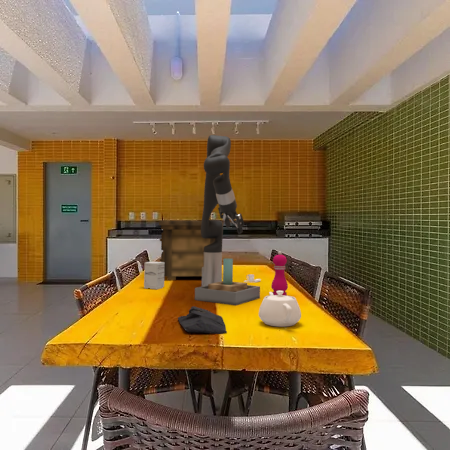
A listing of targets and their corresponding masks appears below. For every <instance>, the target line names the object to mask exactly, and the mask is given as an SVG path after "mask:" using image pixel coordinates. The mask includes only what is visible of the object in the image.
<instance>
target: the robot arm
mask: <svg viewBox="0 0 450 450" xmlns="http://www.w3.org/2000/svg"><path fill="white" fill-rule="evenodd" d="M206 143H207V144H206V158H205V160H204V162H203V170H204V172H205V178H204V179H205V180H204V191H203V192H204V193H203V209H202V215H201V217H202V218H201V221H202V223H201V236H202V238H206V239H215V241H214V242H213V243H212V244H210V245H207V246H205V247H204V267H202V276H201V287H202V286H207V285H208V284H211V283H216V282H221V281H223V236H224V235H223V234H224V224H225V228H228V229H229V228H230V227H231V225H232V224H233V225H234V226H235V227H236V230H237V234H238V235H241V234H242V233H243V232H244V231H243V227H245V222H244V218H243V215H242V213H239V214H238V212H237V210H236V209H237V208H238V204H237V201H236V197H235V193H234V190H233V188H232V184H231V178H230V167H231V164H230V163H231V162H230V159H229V158H228V156H229V155H230V154H231V153H230V152H231V149H232V148H231V147H232V141H231V138H230V137H229V136H227V135H217V134H210V135H208V137H207V141H206ZM217 205H218V207H217ZM216 207H217V210H218V214H219V217H220V219H222V220H223V222H224V223H223V224H222V221H221V220H219V219H218V220H217V219H210V217H211V215H212V213H213V211H214V209H215V208H216ZM231 223H232V224H231Z"/></svg>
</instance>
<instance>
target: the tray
mask: <svg viewBox="0 0 450 450" xmlns="http://www.w3.org/2000/svg"><path fill="white" fill-rule="evenodd" d="M260 298H261V286H259V285H249V284H247V289H245V290H241V291H237V292H230V291H221V290H212V289H208V285H207V286H202V285H201V286H198V287H195V288H194V301H198V302H199V301H200V302H207V303H215V304H216V303H217V304H222V305H231V306H238V305H242V304H244V303H248V302H251V301H255V300H258V299H260Z"/></svg>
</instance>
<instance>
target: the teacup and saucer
mask: <svg viewBox="0 0 450 450" xmlns="http://www.w3.org/2000/svg"><path fill="white" fill-rule="evenodd" d="M246 279H247V280H246ZM246 279H245V280H243V283H247V282H248V283H259V282H262V281H261V280H262V279H261V278H256V279H255V274H247V275H246Z"/></svg>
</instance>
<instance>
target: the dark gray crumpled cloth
mask: <svg viewBox="0 0 450 450" xmlns="http://www.w3.org/2000/svg"><path fill="white" fill-rule="evenodd" d="M177 320H178V322H179V324H180V325H181V327H182V328H183V330H185V331H186V332H188V333H193V334H194V333H196V334H197V333H198V334H199V333H200V334H213V335H215V334H216V335H220V334H222V335H223V334H227V333H228V331H227V328H226V323H225V321H224V319H223V317H222V316H221V315H218V314H216V313H213V312H211V311H210V310H208V309H205V308H202V307H197V306H193V305H192V306H191V307H190V309H189V310H188V314H186V315H181V316H179V317H177Z"/></svg>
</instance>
